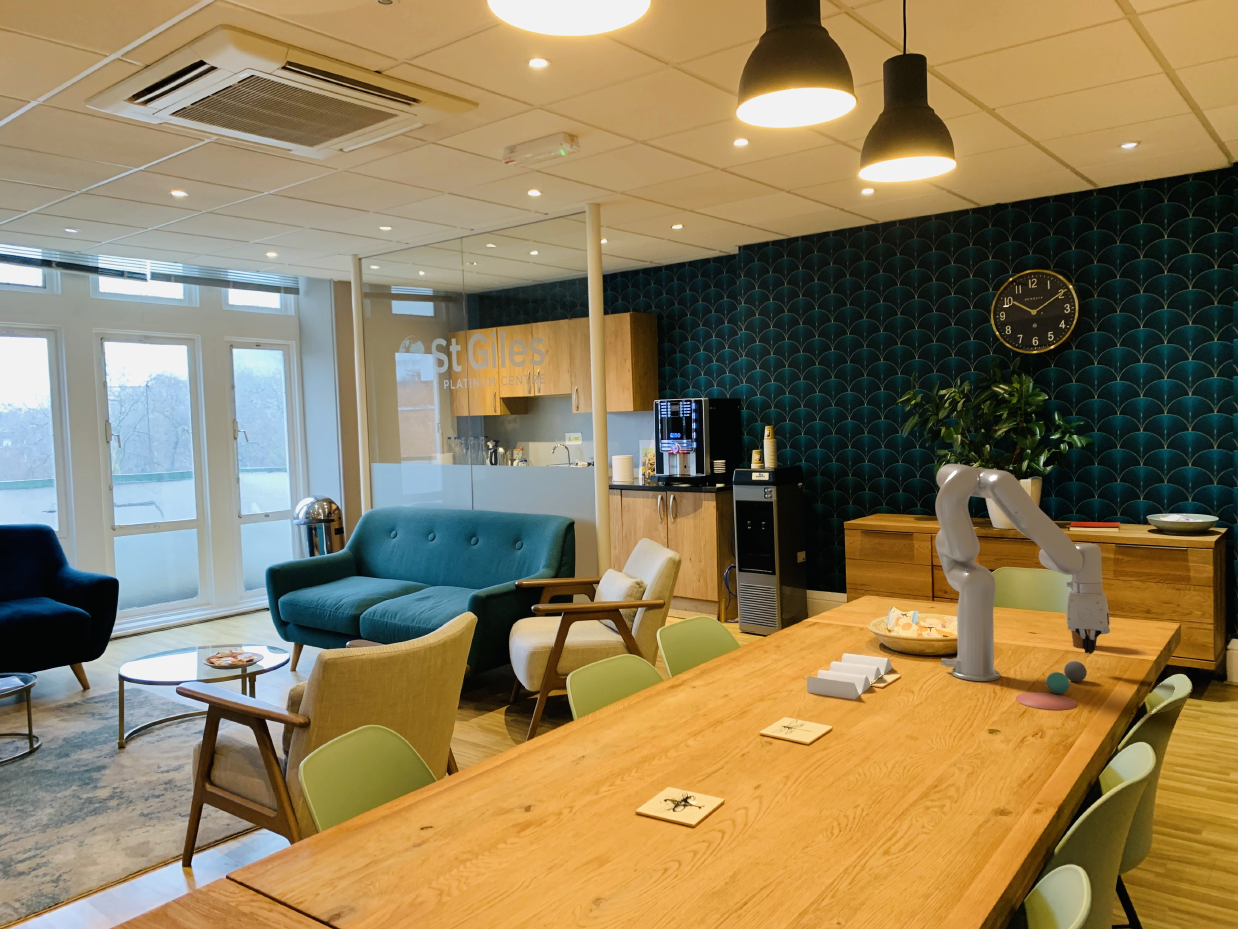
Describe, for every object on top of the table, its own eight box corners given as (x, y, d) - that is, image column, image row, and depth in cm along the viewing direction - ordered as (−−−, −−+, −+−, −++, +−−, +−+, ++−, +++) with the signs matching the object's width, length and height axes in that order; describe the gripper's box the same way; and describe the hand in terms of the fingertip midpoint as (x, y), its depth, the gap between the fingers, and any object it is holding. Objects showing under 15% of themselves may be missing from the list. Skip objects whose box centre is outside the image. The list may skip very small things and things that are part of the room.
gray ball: (1064, 683, 243) (1064, 663, 243) (1063, 677, 248) (1063, 658, 248) (1087, 685, 241) (1087, 665, 240) (1086, 679, 246) (1085, 659, 245)
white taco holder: (892, 669, 263) (892, 652, 263) (854, 702, 233) (854, 683, 233) (849, 664, 270) (849, 647, 270) (807, 695, 241) (806, 676, 240)
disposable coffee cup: (1093, 642, 285) (1093, 605, 284) (1106, 650, 276) (1106, 611, 275) (1062, 642, 286) (1062, 605, 285) (1074, 650, 276) (1074, 612, 276)
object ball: (1046, 695, 233) (1046, 674, 233) (1045, 689, 238) (1045, 669, 238) (1070, 697, 231) (1070, 676, 230) (1069, 691, 236) (1068, 670, 235)
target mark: (1015, 706, 224) (1015, 705, 224) (1015, 691, 237) (1015, 690, 237) (1078, 712, 218) (1078, 712, 218) (1074, 696, 231) (1074, 695, 231)
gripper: (1054, 587, 252) (1056, 651, 253) (1112, 592, 242) (1114, 659, 243) (1063, 583, 258) (1065, 646, 259) (1120, 587, 247) (1122, 653, 248)
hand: (1089, 652), depth 251 cm, fingers closed
